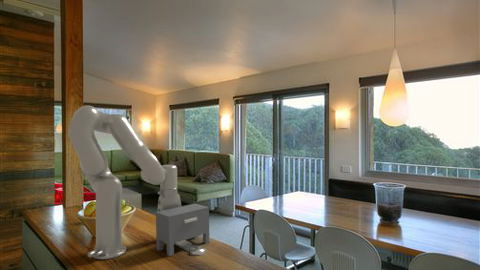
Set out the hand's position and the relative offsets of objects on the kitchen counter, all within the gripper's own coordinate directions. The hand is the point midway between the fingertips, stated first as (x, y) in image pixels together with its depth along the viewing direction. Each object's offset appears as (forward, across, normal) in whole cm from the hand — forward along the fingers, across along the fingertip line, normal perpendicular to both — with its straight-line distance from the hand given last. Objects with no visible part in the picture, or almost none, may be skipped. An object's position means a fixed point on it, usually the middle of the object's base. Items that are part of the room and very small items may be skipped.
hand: (169, 232), depth 135 cm
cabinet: (+3, 0, -11) cm, 11 cm away
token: (+3, 0, -21) cm, 21 cm away
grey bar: (+3, 0, -6) cm, 7 cm away
